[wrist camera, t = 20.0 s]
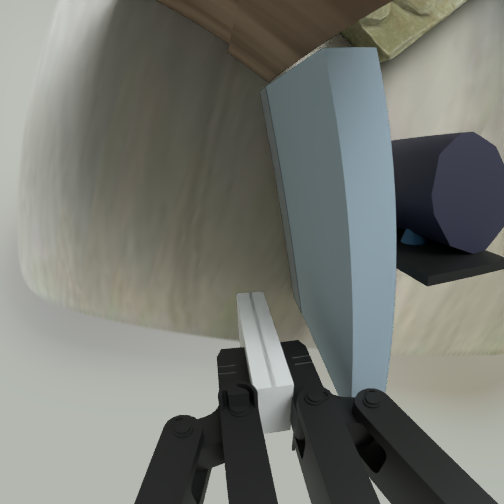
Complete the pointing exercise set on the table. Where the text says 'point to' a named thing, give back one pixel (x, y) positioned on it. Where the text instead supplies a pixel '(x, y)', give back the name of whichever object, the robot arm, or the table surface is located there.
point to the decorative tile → (398, 25)
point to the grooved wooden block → (274, 26)
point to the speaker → (447, 206)
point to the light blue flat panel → (338, 207)
